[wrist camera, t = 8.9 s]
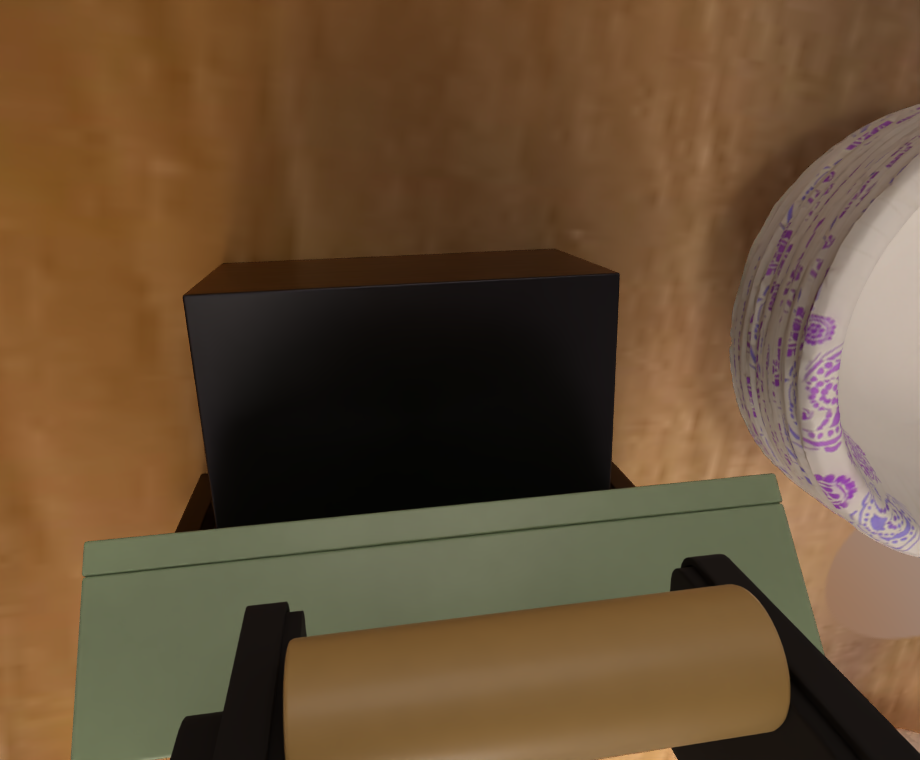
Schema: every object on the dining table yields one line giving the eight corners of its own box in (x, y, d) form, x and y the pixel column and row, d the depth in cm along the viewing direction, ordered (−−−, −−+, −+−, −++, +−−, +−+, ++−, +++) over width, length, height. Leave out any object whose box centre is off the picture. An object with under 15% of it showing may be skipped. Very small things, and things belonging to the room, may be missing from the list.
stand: (622, 245, 26) (729, 274, 19) (613, 459, 29) (703, 557, 22) (141, 266, 24) (54, 310, 16) (179, 500, 26) (118, 625, 19)
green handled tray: (1010, 373, 9) (1141, 686, 8) (630, 533, 22) (655, 657, 21) (-136, 466, 7) (-215, 906, 6) (199, 581, 20) (197, 721, 19)
